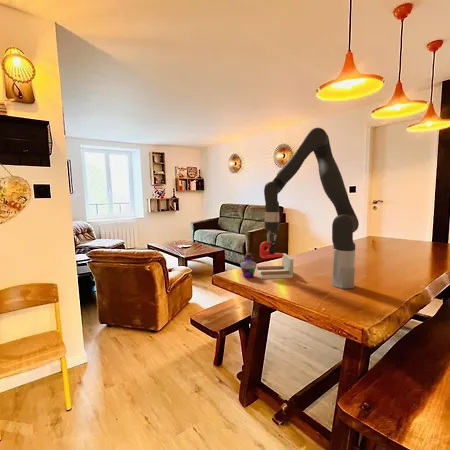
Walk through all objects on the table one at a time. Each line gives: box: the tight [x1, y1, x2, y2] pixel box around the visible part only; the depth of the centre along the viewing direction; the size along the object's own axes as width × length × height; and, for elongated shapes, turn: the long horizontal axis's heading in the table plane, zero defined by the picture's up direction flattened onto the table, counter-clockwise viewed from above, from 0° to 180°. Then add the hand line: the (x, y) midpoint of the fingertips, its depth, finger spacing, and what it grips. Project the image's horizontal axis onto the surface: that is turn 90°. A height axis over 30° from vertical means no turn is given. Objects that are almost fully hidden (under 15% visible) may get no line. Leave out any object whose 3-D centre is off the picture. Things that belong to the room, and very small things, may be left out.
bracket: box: [259, 240, 283, 260], centre depth 149 cm, size 12×4×8 cm, turn 112°
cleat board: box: [255, 252, 294, 280], centre depth 151 cm, size 14×16×10 cm
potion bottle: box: [240, 252, 258, 279], centre depth 147 cm, size 9×9×12 cm
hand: (271, 253), depth 151 cm, fingers closed on bracket, 1 cm apart
